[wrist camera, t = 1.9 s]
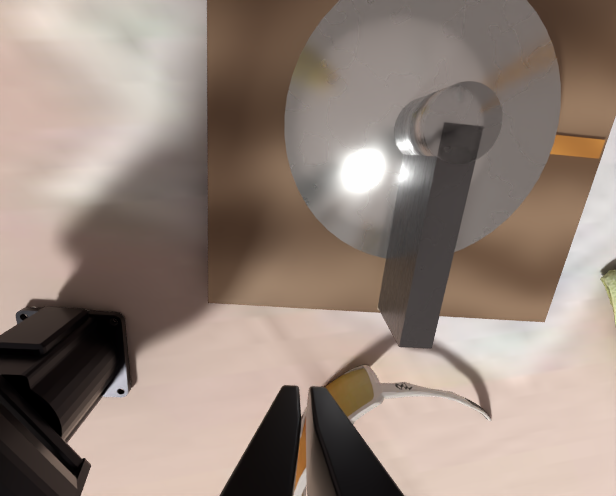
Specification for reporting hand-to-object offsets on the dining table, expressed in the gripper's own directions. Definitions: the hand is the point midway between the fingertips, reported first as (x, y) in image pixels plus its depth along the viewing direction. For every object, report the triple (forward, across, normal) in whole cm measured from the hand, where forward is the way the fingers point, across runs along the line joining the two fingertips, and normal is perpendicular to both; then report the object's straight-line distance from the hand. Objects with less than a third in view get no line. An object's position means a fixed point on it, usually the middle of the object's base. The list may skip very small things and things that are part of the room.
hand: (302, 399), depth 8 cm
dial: (+11, -6, -6) cm, 14 cm away
